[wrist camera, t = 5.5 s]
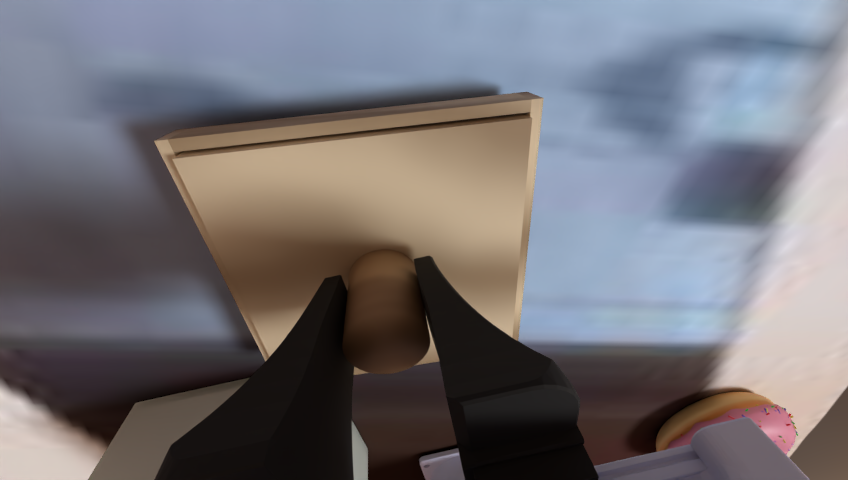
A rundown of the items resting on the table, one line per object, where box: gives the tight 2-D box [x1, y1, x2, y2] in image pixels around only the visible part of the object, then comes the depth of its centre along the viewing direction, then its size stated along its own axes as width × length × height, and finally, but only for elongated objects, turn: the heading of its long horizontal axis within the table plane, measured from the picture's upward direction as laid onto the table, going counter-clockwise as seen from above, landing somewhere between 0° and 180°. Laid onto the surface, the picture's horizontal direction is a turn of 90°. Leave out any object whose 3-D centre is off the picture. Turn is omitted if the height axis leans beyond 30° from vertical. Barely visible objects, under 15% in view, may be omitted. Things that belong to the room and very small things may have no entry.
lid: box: [154, 92, 543, 375], centre depth 13 cm, size 12×12×5 cm
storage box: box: [88, 378, 368, 480], centre depth 21 cm, size 11×11×5 cm
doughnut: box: [656, 392, 798, 454], centre depth 30 cm, size 11×11×4 cm
